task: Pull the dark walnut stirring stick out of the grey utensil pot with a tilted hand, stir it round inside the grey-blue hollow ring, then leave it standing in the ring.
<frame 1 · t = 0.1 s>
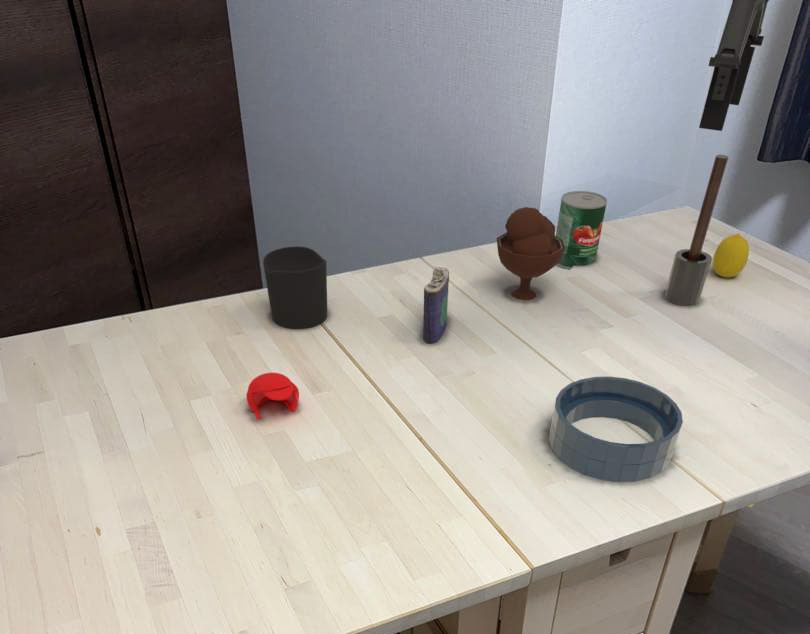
hand: (719, 115, 96), 31 cm above the table, tool pointing down, fingers open, 13 cm apart
canned tomato: (573, 262, 137), on the table
cap: (274, 415, 99), on the table
pen holder: (300, 322, 119), on the table
ice cream bowl: (523, 300, 125), on the table
lemon: (723, 280, 132), on the table
grey-blue hollow ring: (608, 449, 95), on the table
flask: (435, 335, 116), on the table
stick: (681, 298, 124), point 1 cm above the table, touching utensil pot
utensil pot: (680, 303, 125), on the table
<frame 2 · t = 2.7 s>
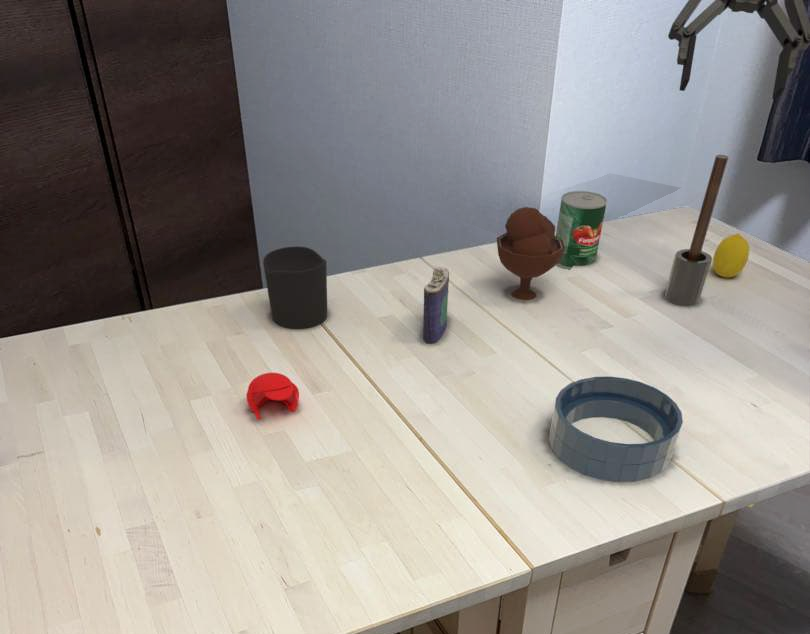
hand: (730, 90, 110), 30 cm above the table, tool tilted 40°, fingers open, 13 cm apart
nothing on the table moved.
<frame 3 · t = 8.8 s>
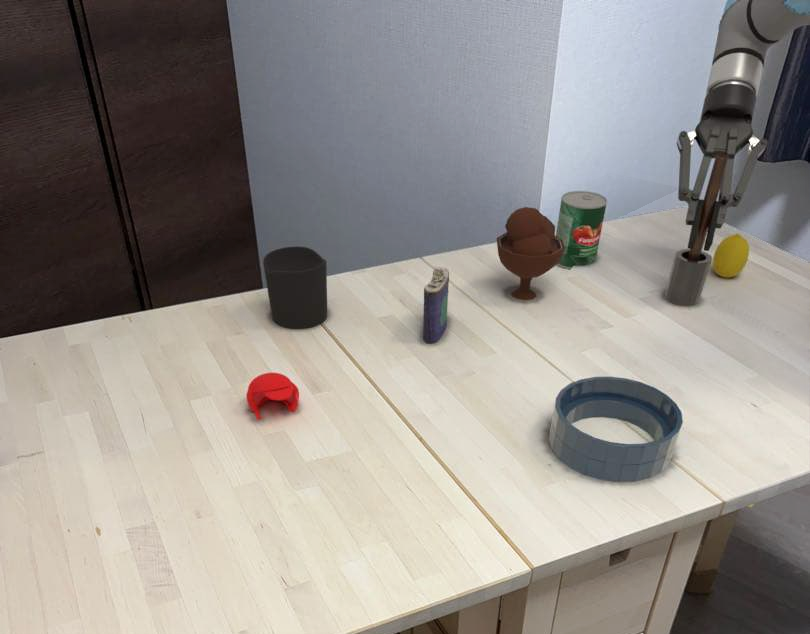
hand: (699, 245, 114), 11 cm above the table, tool tilted 45°, fingers closed on stick, 2 cm apart
stick: (682, 298, 124), point 1 cm above the table, touching gripper
everything else where it was.
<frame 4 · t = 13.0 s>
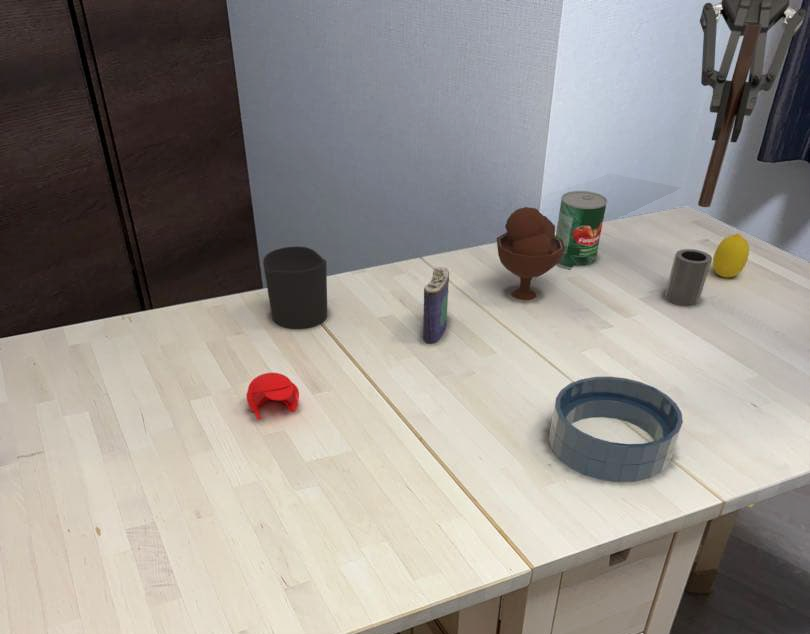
hand: (726, 135, 99), 28 cm above the table, tool tilted 45°, fingers closed on stick, 2 cm apart
stick: (704, 205, 109), point 18 cm above the table, touching gripper
everything else where it was.
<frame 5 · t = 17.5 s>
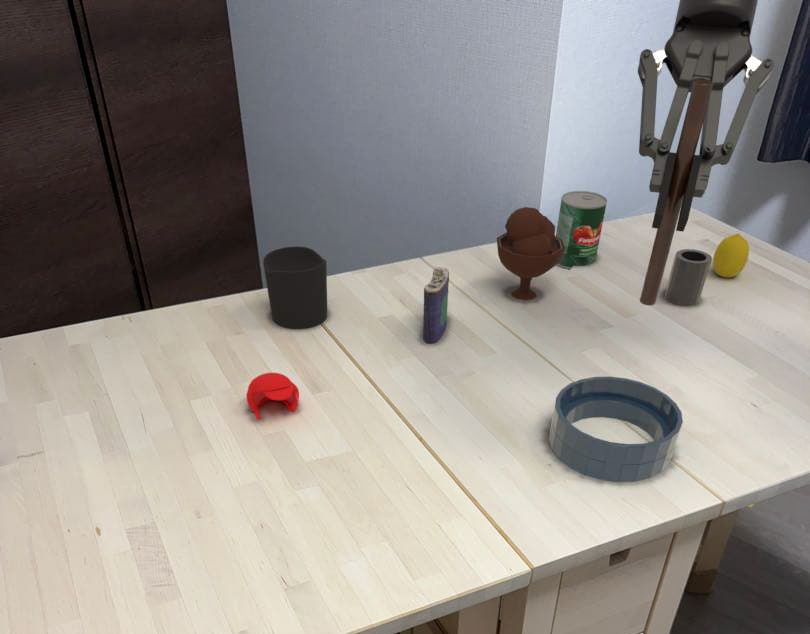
hand: (669, 223, 75), 28 cm above the table, tool tilted 45°, fingers closed on stick, 2 cm apart
stick: (647, 302, 85), point 18 cm above the table, touching gripper
everything else where it was.
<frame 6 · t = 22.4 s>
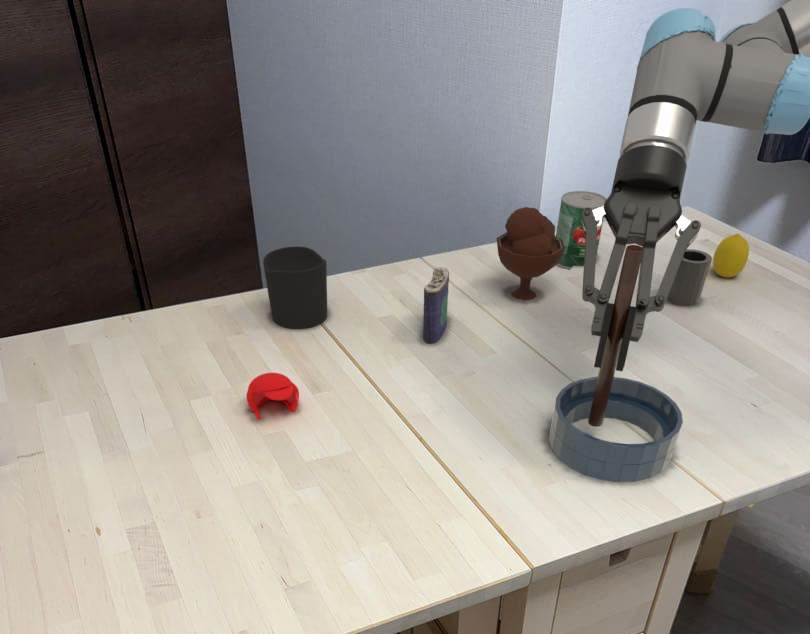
hand: (609, 365, 83), 14 cm above the table, tool tilted 45°, fingers closed on stick, 2 cm apart
stick: (595, 422, 93), point 3 cm above the table, touching gripper
everything else where it was.
when the fingers open (11 cm above the table, at t = 26.4 s): stick stays where it is, resting on grey-blue hollow ring.
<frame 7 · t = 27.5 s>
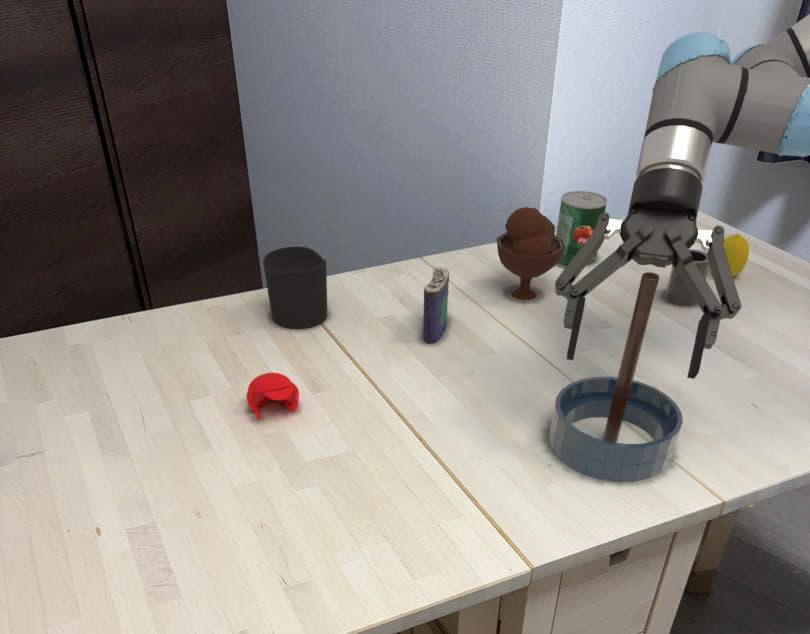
hand: (630, 366, 84), 13 cm above the table, tool tilted 45°, fingers open, 13 cm apart
stick: (608, 443, 94), point 1 cm above the table, touching grey-blue hollow ring
everything else where it was.
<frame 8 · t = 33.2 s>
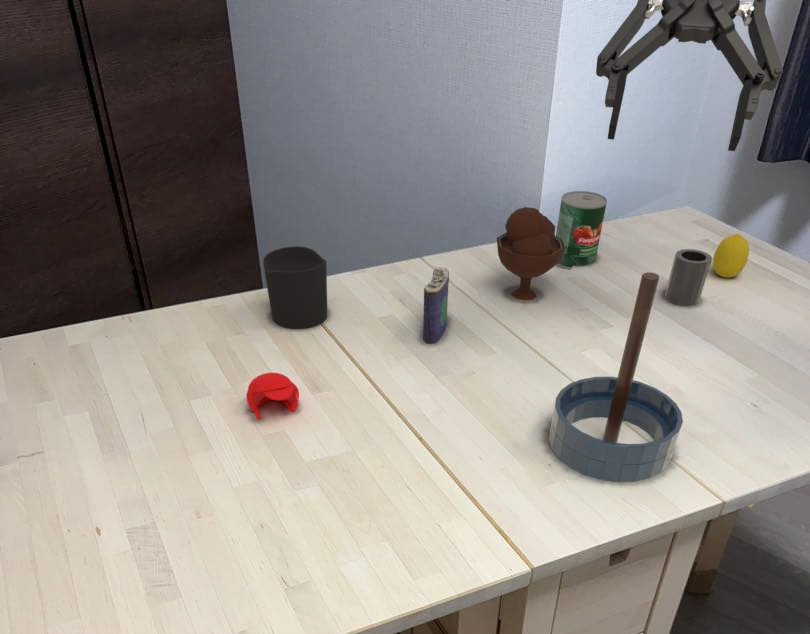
hand: (671, 138, 85), 32 cm above the table, tool tilted 45°, fingers open, 13 cm apart
nothing on the table moved.
at the end: stick inside the target area in the grey-blue hollow ring (0.1 cm from its centre), point 0.8 cm above the grey-blue hollow ring's base; the gripper is holding nothing; stick moved 46.0 cm from its start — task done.
